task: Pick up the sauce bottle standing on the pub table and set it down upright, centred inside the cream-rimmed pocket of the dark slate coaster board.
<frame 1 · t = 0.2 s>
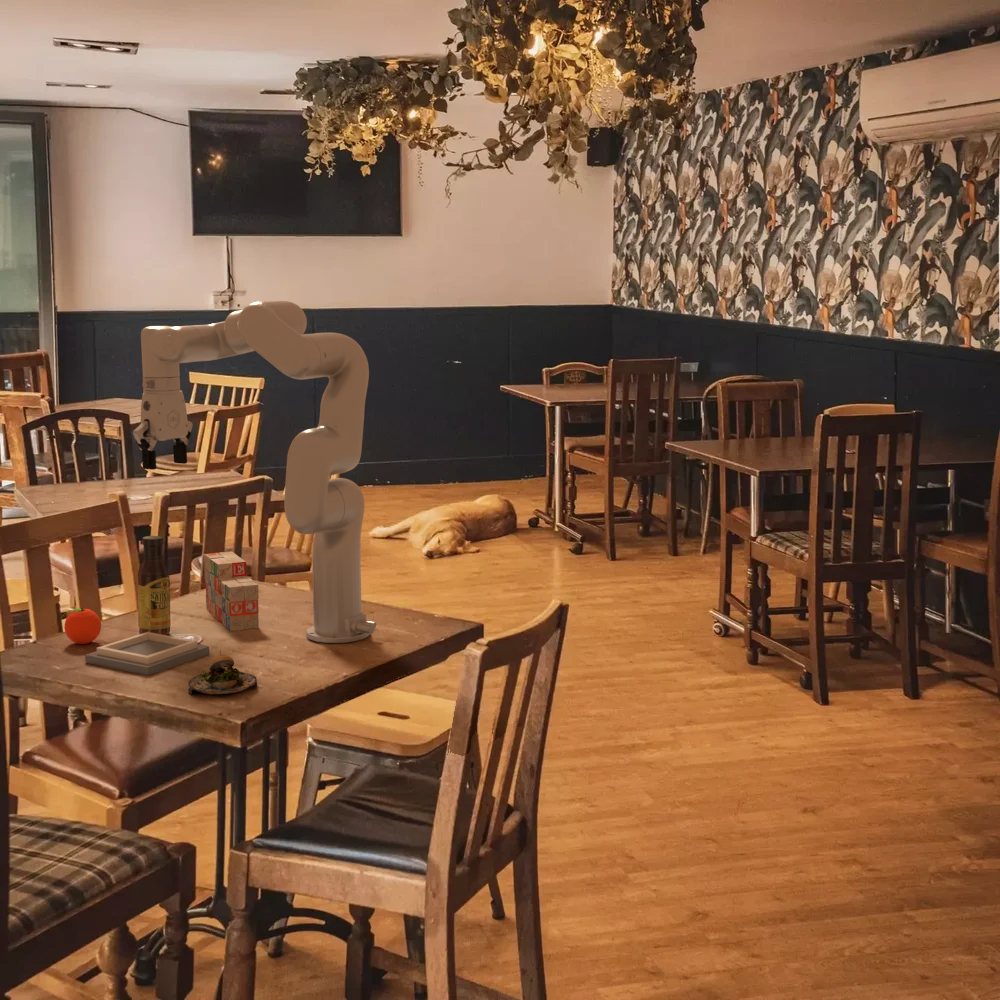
hand: (165, 466, 288), 31 cm above the table, fingers open, 9 cm apart
stack of blocks: (231, 619, 286), on the table
sauce bottle: (155, 635, 273), on the table
burger: (223, 691, 238), on the table
clementine: (81, 644, 266), on the table
slate coaster board: (148, 658, 256), on the table
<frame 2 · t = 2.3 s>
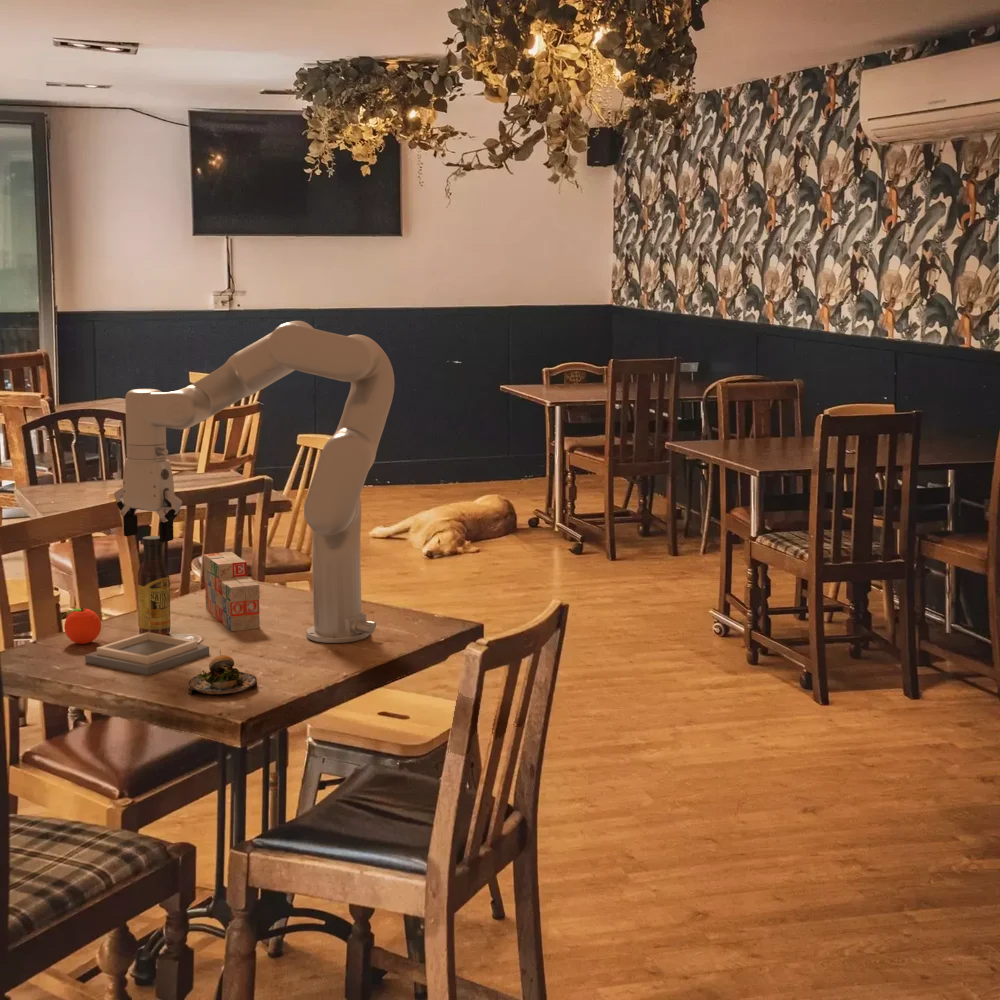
hand: (148, 538, 269), 20 cm above the table, fingers open, 9 cm apart
nothing on the table moved.
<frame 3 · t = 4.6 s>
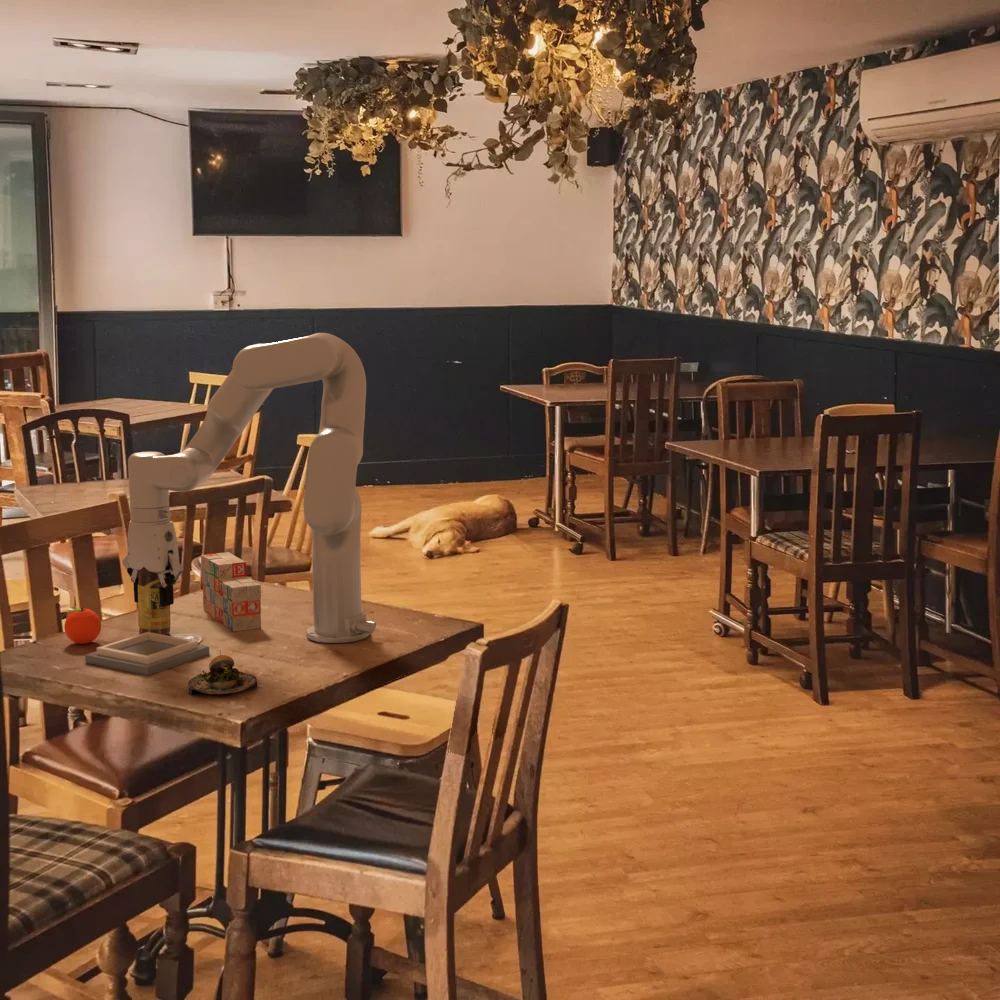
hand: (154, 602, 271), 7 cm above the table, fingers closed on sauce bottle, 6 cm apart
sauce bottle: (155, 635, 273), on the table, touching gripper
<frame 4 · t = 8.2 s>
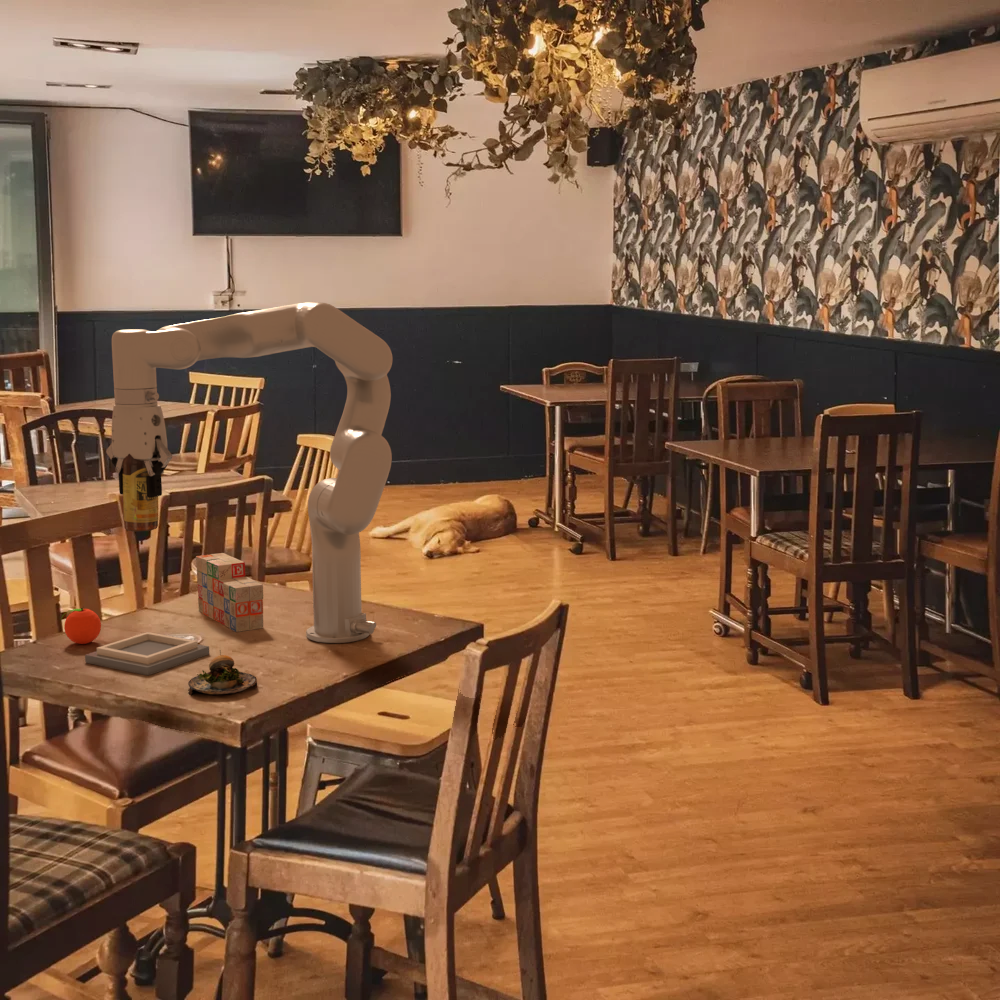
hand: (140, 494, 251), 31 cm above the table, fingers closed on sauce bottle, 6 cm apart
sauce bottle: (142, 530, 252), point 24 cm above the table, touching gripper
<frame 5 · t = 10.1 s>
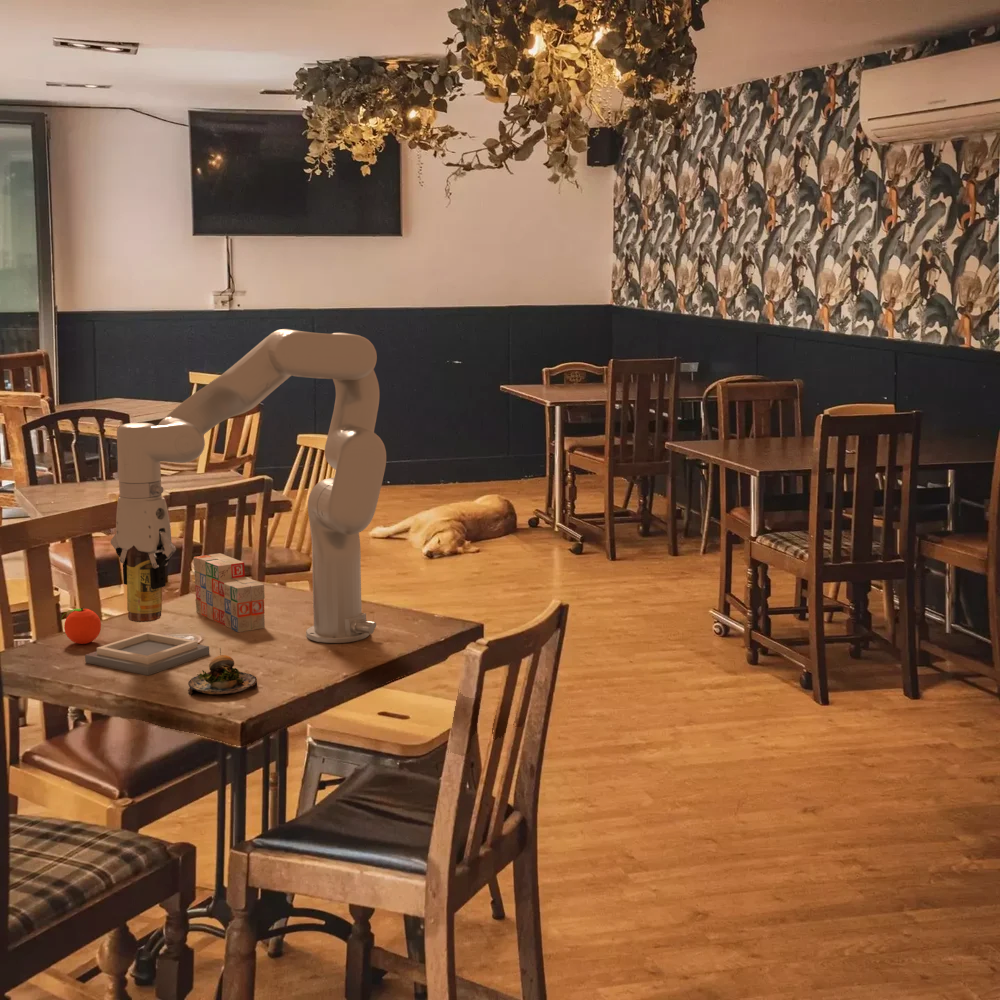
hand: (144, 584, 254), 14 cm above the table, fingers closed on sauce bottle, 6 cm apart
sauce bottle: (145, 620, 255), point 7 cm above the table, touching gripper
when the fingers open (9 cm above the table, at t = 11.9 s): sauce bottle stays where it is, resting on slate coaster board.
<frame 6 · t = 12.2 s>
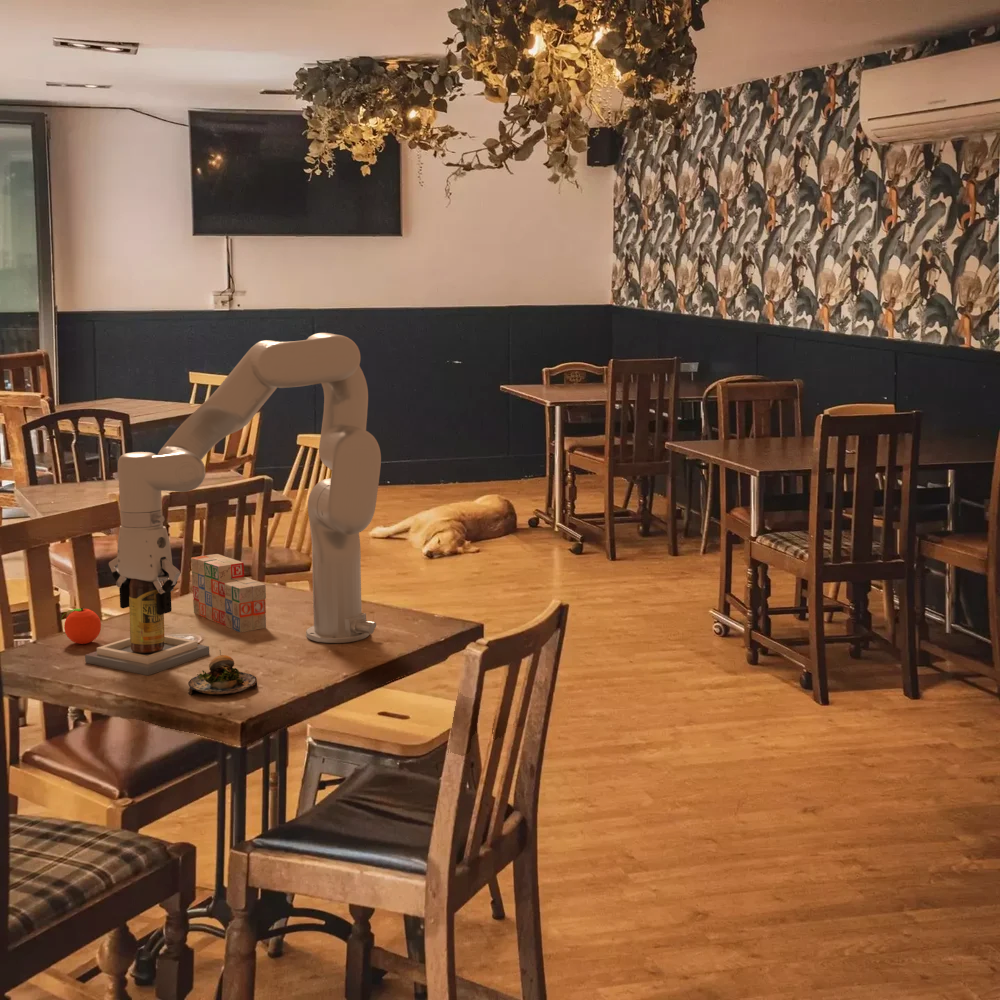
hand: (145, 609, 254), 9 cm above the table, fingers open, 9 cm apart
sauce bottle: (148, 651, 256), point 1 cm above the table, touching slate coaster board
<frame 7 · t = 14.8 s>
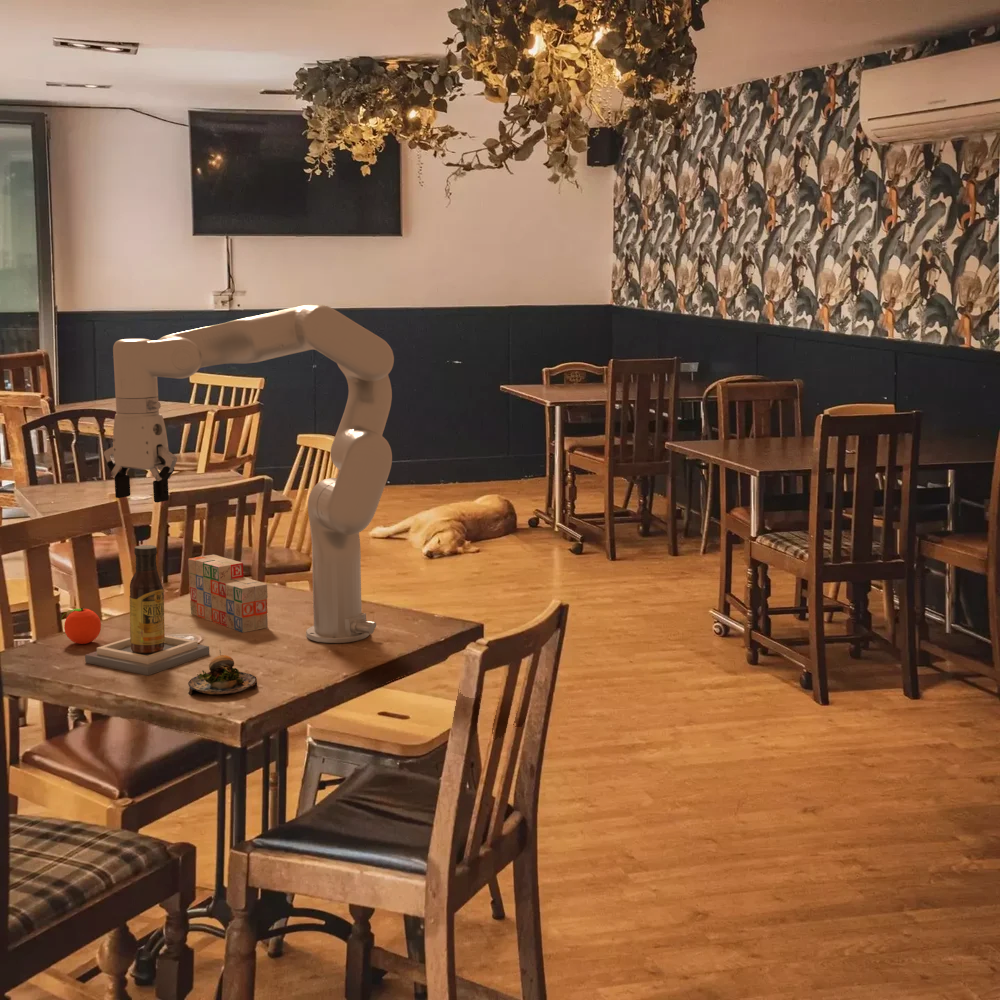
hand: (142, 499, 251), 30 cm above the table, fingers open, 9 cm apart
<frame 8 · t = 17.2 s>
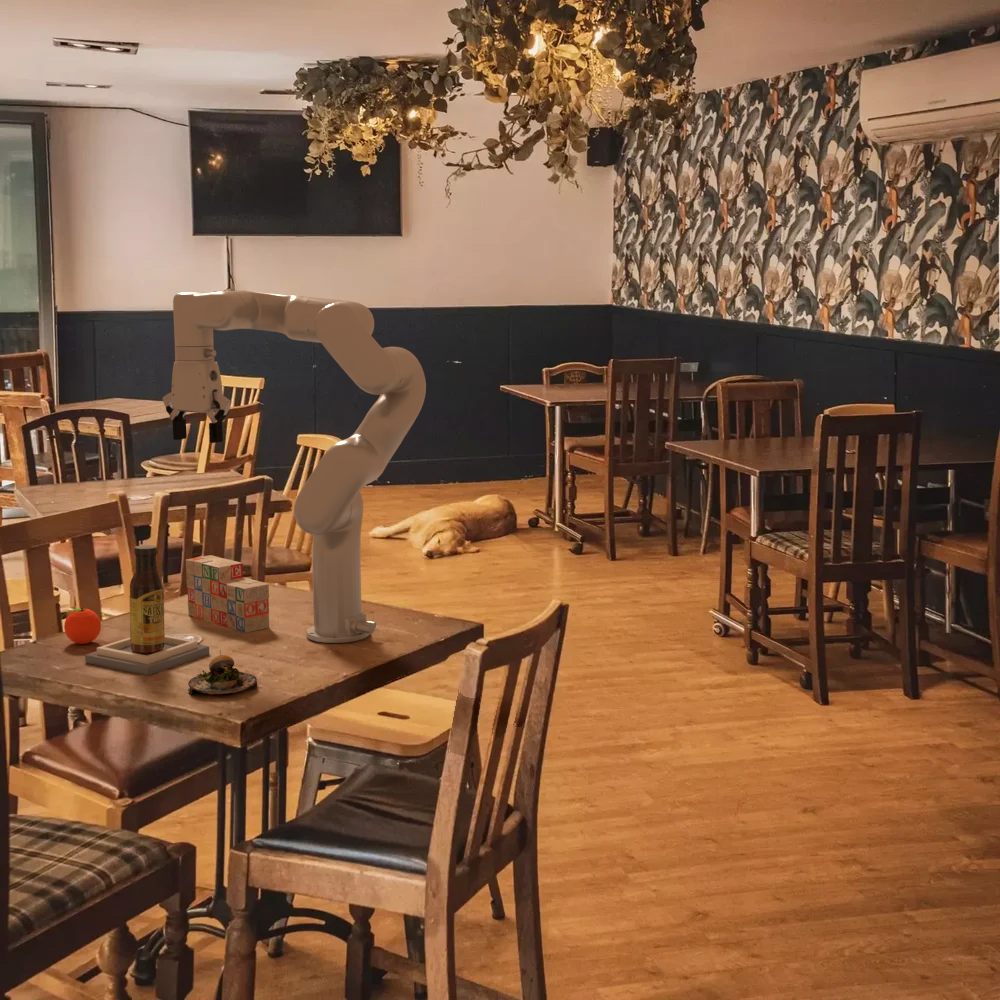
hand: (197, 440, 273), 38 cm above the table, fingers open, 9 cm apart
at the end: sauce bottle 0.1 cm off-centre on the slate coaster board, point 1.3 cm above the slate coaster board's base; sauce bottle tilted 0°; the gripper is holding nothing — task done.
